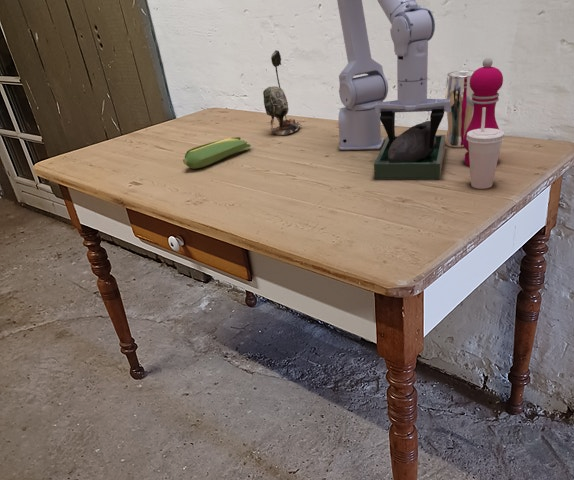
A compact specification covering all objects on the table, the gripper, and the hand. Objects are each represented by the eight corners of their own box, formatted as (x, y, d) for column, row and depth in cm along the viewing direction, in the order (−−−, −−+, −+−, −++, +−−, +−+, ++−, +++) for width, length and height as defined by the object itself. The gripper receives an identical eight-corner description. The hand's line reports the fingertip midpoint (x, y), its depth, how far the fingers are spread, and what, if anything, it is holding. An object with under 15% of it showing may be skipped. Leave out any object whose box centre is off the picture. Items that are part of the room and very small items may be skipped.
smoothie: (472, 177, 109) (477, 102, 102) (505, 182, 105) (513, 104, 98) (457, 188, 105) (461, 111, 98) (491, 193, 101) (498, 113, 94)
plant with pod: (258, 135, 151) (247, 55, 141) (288, 124, 158) (281, 47, 148) (278, 139, 146) (269, 56, 136) (309, 128, 152) (303, 48, 142)
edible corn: (180, 170, 131) (176, 151, 129) (244, 147, 143) (242, 128, 141) (193, 174, 128) (189, 154, 126) (258, 149, 140) (256, 131, 137)
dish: (374, 179, 114) (374, 163, 112) (387, 149, 129) (387, 135, 128) (439, 179, 110) (440, 163, 108) (445, 149, 125) (445, 134, 124)
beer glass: (479, 146, 125) (484, 74, 117) (447, 149, 125) (450, 78, 118) (471, 137, 131) (475, 68, 123) (440, 140, 131) (442, 72, 124)
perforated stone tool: (398, 174, 113) (398, 139, 110) (378, 169, 117) (377, 136, 114) (443, 153, 122) (444, 121, 118) (422, 150, 125) (423, 118, 122)
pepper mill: (501, 167, 112) (510, 59, 102) (462, 168, 114) (468, 62, 104) (497, 156, 118) (506, 53, 108) (461, 157, 120) (466, 56, 110)
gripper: (371, 84, 110) (373, 153, 117) (449, 80, 106) (447, 152, 112) (377, 77, 116) (379, 143, 122) (451, 73, 111) (449, 142, 118)
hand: (412, 147), depth 118 cm, fingers open, 7 cm apart
